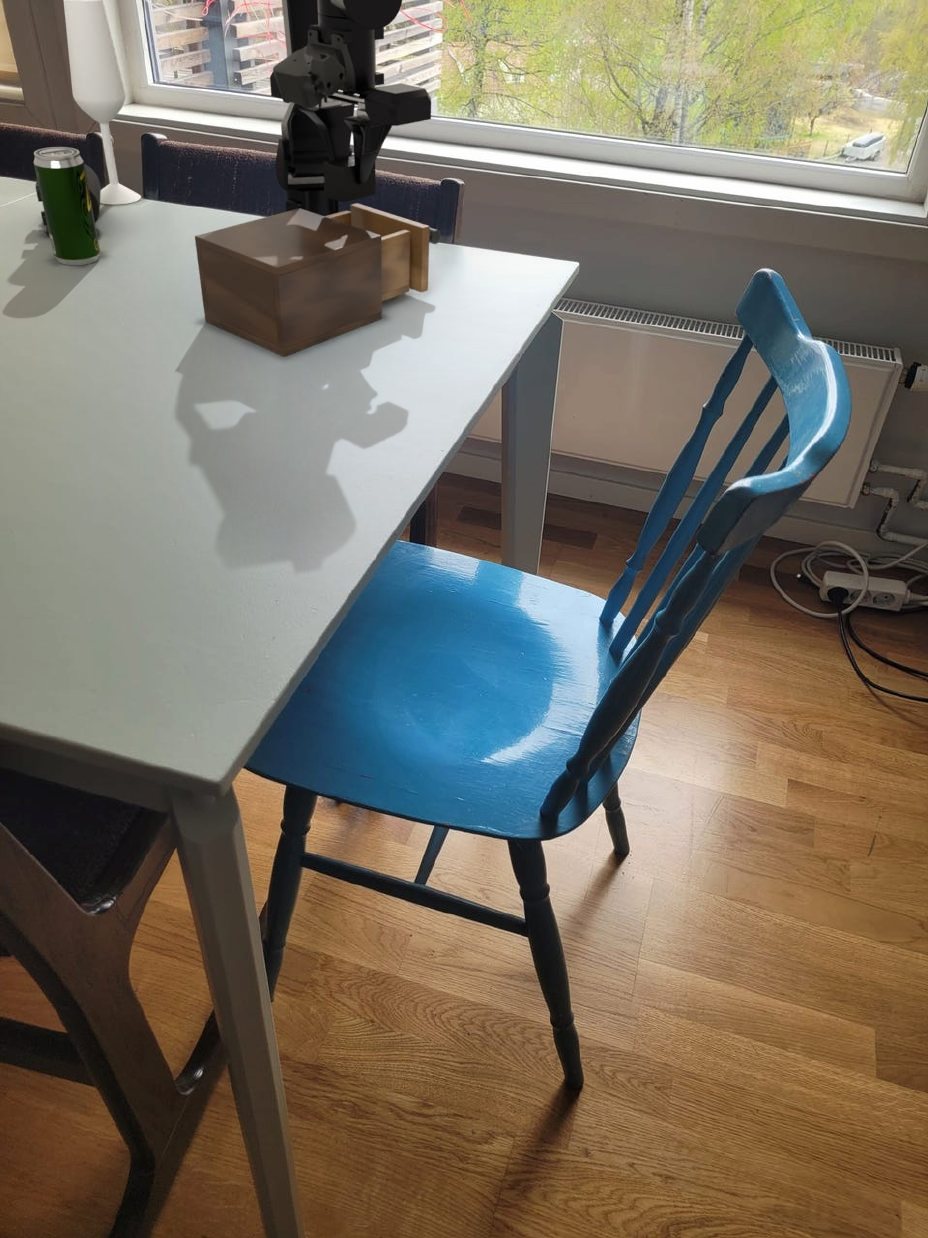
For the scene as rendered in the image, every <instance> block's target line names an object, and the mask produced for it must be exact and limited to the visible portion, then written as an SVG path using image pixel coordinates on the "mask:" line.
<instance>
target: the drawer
mask: <svg viewBox="0 0 928 1238" xmlns="http://www.w3.org/2000/svg"><path fill="white" fill-rule="evenodd" d="M349 210H350V211H349ZM349 210H342V211H339V213H335V214H332V215H328V216H325V217H328V218H331V219H334V220H337V221H340V222H343V223H346V224H349V225H352V226H355V227H357V228H360V229H363V230H366V231H369V232H372V233H375V234H378V235H381V257H382V302H385V301H387V300H390V299H393V298H396V297H399V296H401V295H403V294H407V293H409V292H410V290H413V291H416V292H419V293H424V292H426V291H428V290H429V267H430V265H429V263H430V244H433V245H437V244H438V243H439V242H440V240H441V235H442V233H441V231H440V230H438V229H436V228H432V227H430V226H429V225H427V224H424V223H421V222H418V221H416V220H415V221H414V220H412V219H408V218H405V217H402V216H399V215H395V214H392V213H390V212H386V211H383V210H380V209H377V208H373V207H370V206H367V205H364V204H362V203H358V202H357V203H352V204H350V205H349Z"/></svg>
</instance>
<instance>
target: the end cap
mask: <svg viewBox="0 0 928 1238" xmlns="http://www.w3.org/2000/svg"><path fill="white" fill-rule="evenodd" d="M84 167H85V173H86V178H87V183H88V189H89V194H90V199H91V205H92V210H93V215H94V221H95V224H97V222H98V219H99V217H100V211H101V203H100V194H101V190H102V188H101V183H100V179H99V177H98V174H96V172H95V170H93V169H92V168H91V167H90V166H89V165H87V164H86V163H84ZM35 181H36V182H35V192H36V196H37V201H38V203H39V202H40V203H41V202H42V198H41V194H40V189H39V184H38V180H37V179H36V180H35ZM40 214H41V219H42V220H41V221H42V224H43V226H45V235H46V236H47V237H48V238H50V235H49V230H48V226H47V221H46V217H45V212H44V210H42V211H41V210H40Z"/></svg>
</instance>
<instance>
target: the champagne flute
mask: <svg viewBox="0 0 928 1238" xmlns="http://www.w3.org/2000/svg"><path fill="white" fill-rule="evenodd" d="M63 9H64V18H65V21H64V22H65V29H66V30H65V31H66V41H67V50H68V60H69V70H70V71H69V72H70V81H71V91H72V97H73V99H74V101H75V103H76V104H77V105H78V107H79V108H80V109H81V110H82V111H83V112H84V113H85V114H86V115H88V116H89V117H90V118H91V119H92V120H94V121H96V122H98V124H99V128H100V133H101V139H102V140H101V141H102V145H103V146H102V147H103V152H104V157H105V163H106V169H107V175H108V179H109V180H108V181H109V183H108V184H107V185H106V186H105V187H103V188H101V194H100V204H103V205H112V206H115V205H126V204H132V203H135V202H138V201H139V200H141V198H142V195H141V194H139V193H137V192H136V191H134V190H132V189H130V188H128V187H126V186H124V185H123V184H121V183H119V178H118V170H117V165H116V159H115V153H114V148H113V142H112V141H113V140H112V135H111V129H110V122H112V121H113V120H114V119H115V118H116V116H117V115H118V114H119V112H120V111H121V110H122V108H123V106H124V104H125V101H126V96H127V95H126V91H125V86H124V83H123V77H122V74H121V70H120V66H119V62H118V57H117V54H116V48H115V43H114V40H113V36H112V32H111V29H110V28H111V27H110V24H109V20H108V15H107V11H106V7H105V2H104V0H63Z"/></svg>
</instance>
